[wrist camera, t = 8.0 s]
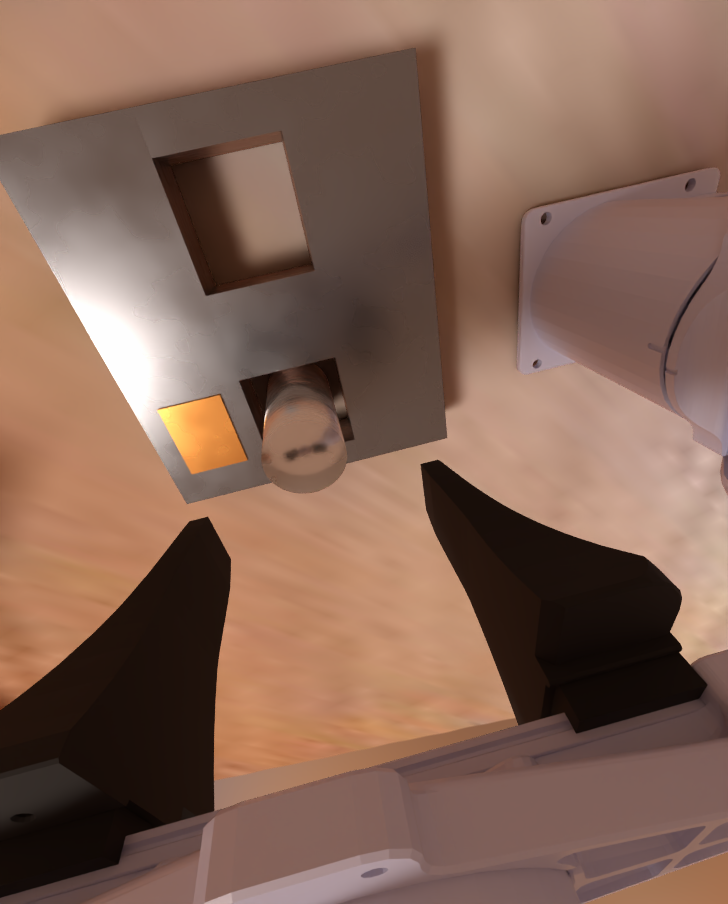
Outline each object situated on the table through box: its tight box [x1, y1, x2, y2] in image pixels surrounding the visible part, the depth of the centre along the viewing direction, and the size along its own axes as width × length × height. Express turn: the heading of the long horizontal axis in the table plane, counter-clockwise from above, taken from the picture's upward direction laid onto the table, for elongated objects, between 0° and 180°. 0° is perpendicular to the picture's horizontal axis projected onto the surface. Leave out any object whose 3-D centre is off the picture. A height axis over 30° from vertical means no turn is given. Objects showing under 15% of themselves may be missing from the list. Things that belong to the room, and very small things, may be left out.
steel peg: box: [261, 363, 347, 493], centre depth 18 cm, size 3×3×7 cm
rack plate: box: [0, 48, 447, 504], centre depth 17 cm, size 14×15×3 cm
